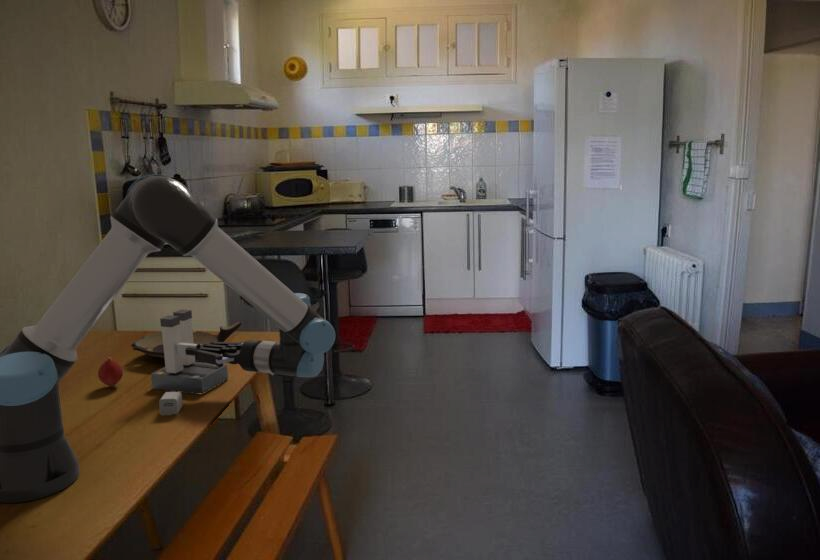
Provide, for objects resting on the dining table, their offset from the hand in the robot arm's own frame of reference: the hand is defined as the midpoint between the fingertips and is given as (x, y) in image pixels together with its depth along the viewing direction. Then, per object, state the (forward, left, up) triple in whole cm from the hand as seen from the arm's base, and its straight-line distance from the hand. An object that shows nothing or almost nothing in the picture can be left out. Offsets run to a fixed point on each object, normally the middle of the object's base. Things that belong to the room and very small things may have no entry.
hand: (178, 348), depth 168 cm
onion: (+7, +17, -11) cm, 21 cm away
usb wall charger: (-14, +2, -11) cm, 18 cm away
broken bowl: (+28, -1, -11) cm, 30 cm away
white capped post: (+6, -1, -6) cm, 9 cm away
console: (+2, -2, -10) cm, 11 cm away
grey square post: (+1, +2, -6) cm, 6 cm away
